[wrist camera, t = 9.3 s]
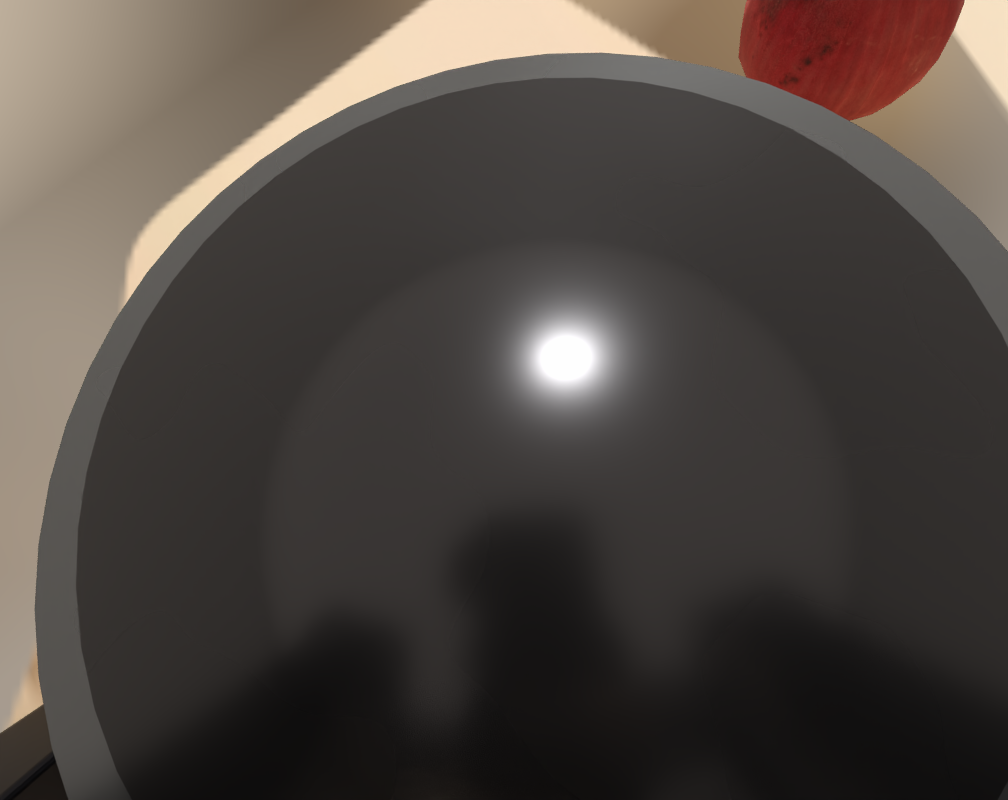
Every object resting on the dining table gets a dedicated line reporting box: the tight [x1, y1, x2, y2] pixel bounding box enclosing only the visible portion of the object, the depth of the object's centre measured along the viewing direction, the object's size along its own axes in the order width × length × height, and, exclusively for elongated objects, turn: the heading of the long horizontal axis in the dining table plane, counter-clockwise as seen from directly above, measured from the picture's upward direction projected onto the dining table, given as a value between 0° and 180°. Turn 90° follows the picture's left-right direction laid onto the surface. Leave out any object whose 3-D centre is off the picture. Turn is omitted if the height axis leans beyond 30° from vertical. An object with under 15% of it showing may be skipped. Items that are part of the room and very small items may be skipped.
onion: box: [739, 0, 964, 121], centre depth 18 cm, size 6×6×8 cm
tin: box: [35, 53, 1008, 800], centre depth 10 cm, size 6×6×14 cm
